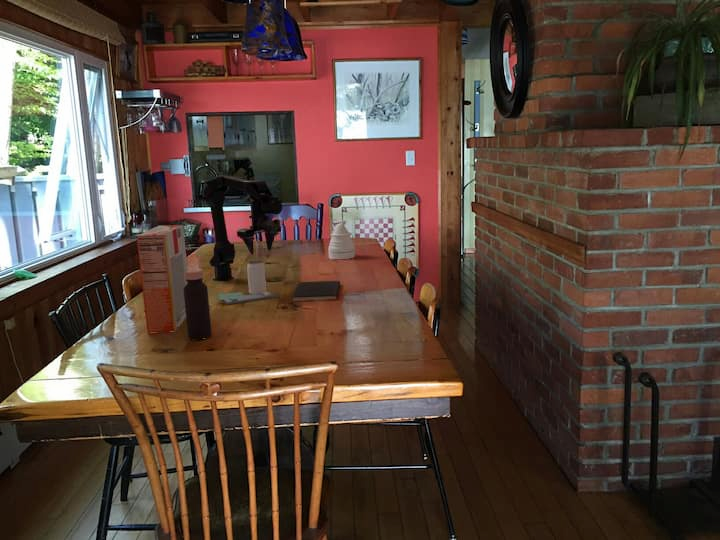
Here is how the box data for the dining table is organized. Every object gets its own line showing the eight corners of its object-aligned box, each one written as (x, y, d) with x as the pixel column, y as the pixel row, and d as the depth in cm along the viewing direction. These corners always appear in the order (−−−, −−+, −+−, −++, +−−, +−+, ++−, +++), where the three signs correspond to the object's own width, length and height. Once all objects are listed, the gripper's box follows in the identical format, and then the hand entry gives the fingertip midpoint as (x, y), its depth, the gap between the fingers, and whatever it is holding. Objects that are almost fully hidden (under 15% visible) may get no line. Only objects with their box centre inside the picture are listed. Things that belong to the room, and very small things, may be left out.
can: (269, 291, 230) (267, 260, 227) (260, 295, 224) (257, 264, 222) (255, 290, 233) (253, 260, 230) (245, 294, 227) (243, 263, 224)
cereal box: (168, 313, 205) (158, 225, 199) (191, 311, 205) (183, 224, 199) (147, 333, 183) (136, 236, 176) (174, 332, 183) (164, 234, 177)
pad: (217, 295, 227) (217, 294, 227) (241, 292, 229) (241, 292, 229) (219, 300, 218) (219, 300, 218) (244, 298, 221) (244, 297, 221)
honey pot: (360, 256, 296) (358, 219, 292) (345, 260, 285) (343, 223, 281) (338, 254, 303) (336, 218, 299) (323, 258, 292) (321, 222, 288)
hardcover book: (292, 302, 214) (291, 296, 214) (299, 287, 237) (299, 282, 236) (337, 301, 214) (336, 295, 213) (340, 286, 236) (340, 280, 236)
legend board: (227, 304, 213) (227, 300, 213) (223, 300, 218) (223, 297, 218) (276, 297, 221) (275, 293, 221) (271, 293, 226) (270, 290, 226)
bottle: (190, 342, 173) (183, 274, 169) (186, 335, 179) (180, 270, 175) (213, 338, 175) (207, 271, 171) (209, 332, 182) (203, 267, 177)
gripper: (254, 217, 223) (257, 258, 226) (290, 211, 237) (291, 250, 241) (234, 215, 230) (237, 255, 233) (270, 209, 244) (272, 247, 247)
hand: (260, 252), depth 238 cm, fingers open, 9 cm apart
